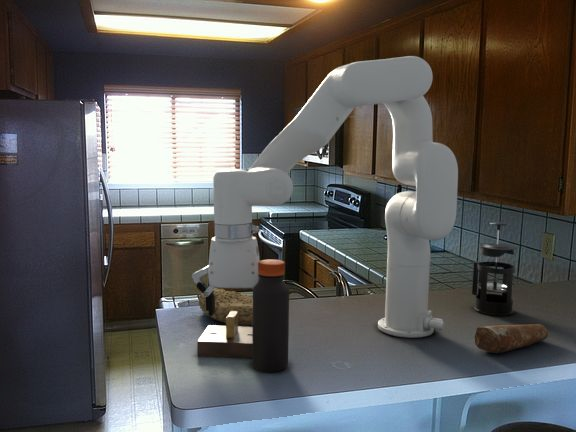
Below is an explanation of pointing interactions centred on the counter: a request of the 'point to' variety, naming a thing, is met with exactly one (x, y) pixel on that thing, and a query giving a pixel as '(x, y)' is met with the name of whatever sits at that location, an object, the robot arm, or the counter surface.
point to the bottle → (270, 318)
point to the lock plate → (225, 342)
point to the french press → (495, 302)
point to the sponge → (230, 306)
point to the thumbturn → (231, 324)
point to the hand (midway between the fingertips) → (235, 314)
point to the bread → (508, 337)
